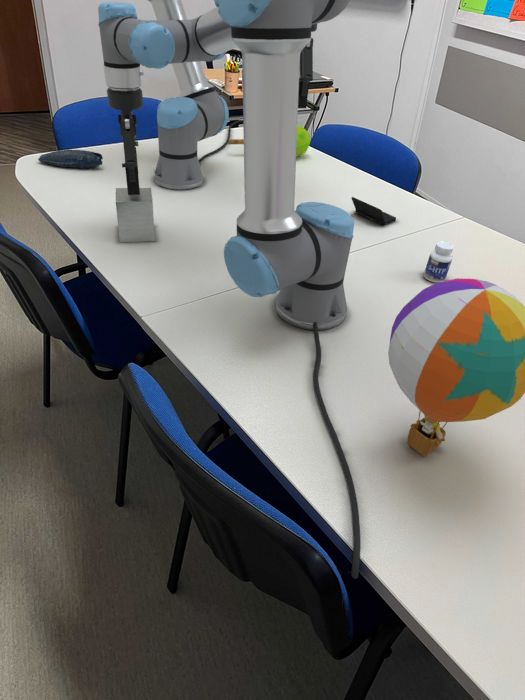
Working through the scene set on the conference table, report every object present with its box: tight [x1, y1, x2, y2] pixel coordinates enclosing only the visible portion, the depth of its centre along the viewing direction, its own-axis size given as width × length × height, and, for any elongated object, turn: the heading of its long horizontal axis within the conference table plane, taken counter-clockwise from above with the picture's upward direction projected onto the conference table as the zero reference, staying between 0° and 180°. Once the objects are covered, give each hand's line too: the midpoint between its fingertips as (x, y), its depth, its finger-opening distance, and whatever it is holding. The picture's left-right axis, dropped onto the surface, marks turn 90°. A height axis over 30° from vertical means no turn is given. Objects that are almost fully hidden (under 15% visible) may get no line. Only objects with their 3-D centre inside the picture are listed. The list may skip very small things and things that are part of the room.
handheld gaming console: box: [351, 196, 397, 226], centre depth 151 cm, size 12×7×10 cm
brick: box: [115, 187, 156, 243], centre depth 131 cm, size 8×9×11 cm
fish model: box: [37, 149, 104, 170], centre depth 166 cm, size 7×21×5 cm, turn 84°
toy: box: [387, 278, 525, 458], centre depth 75 cm, size 20×20×30 cm
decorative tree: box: [227, 125, 311, 157], centre depth 186 cm, size 18×10×30 cm
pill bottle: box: [423, 240, 454, 284], centre depth 125 cm, size 5×5×9 cm
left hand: (294, 101), depth 146 cm, fingers open, 13 cm apart
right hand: (133, 183), depth 126 cm, fingers open, 13 cm apart
